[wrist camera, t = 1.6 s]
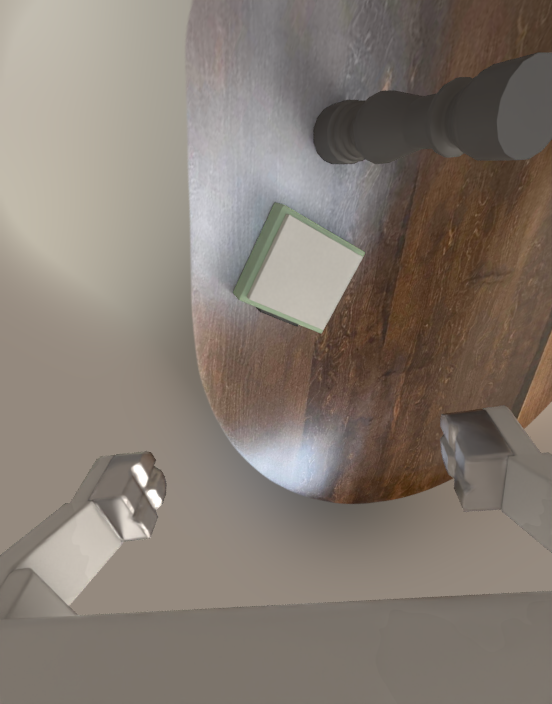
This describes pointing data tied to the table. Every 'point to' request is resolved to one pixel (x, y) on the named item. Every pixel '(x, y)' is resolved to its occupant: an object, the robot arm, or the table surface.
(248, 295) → the scale
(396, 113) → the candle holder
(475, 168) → the table surface
